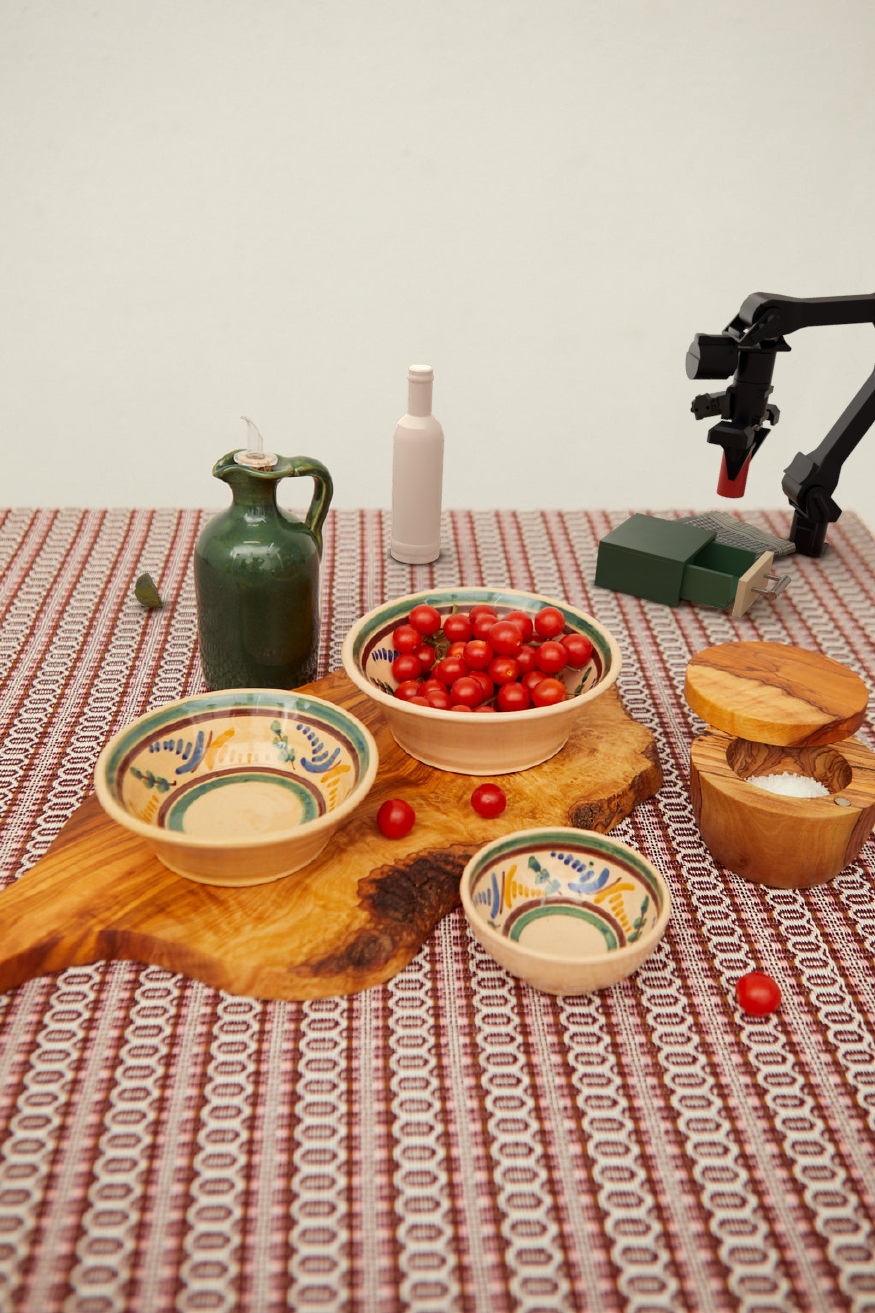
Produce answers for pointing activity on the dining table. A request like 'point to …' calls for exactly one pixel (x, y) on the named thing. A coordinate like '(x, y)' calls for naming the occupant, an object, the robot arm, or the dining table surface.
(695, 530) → the dark green box
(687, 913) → the dining table surface
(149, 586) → the lime
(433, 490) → the bottle
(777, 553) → the dish towel
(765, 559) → the drawer
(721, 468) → the sauce bottle
